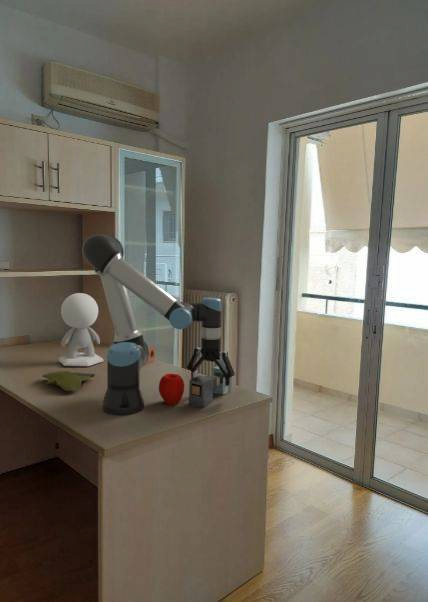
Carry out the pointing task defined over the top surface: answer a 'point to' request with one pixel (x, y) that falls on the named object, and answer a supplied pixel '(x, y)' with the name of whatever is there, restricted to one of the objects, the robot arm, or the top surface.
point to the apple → (171, 388)
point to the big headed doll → (80, 330)
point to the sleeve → (206, 394)
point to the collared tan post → (198, 388)
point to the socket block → (220, 387)
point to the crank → (151, 354)
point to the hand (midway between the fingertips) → (209, 390)
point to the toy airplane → (67, 379)
